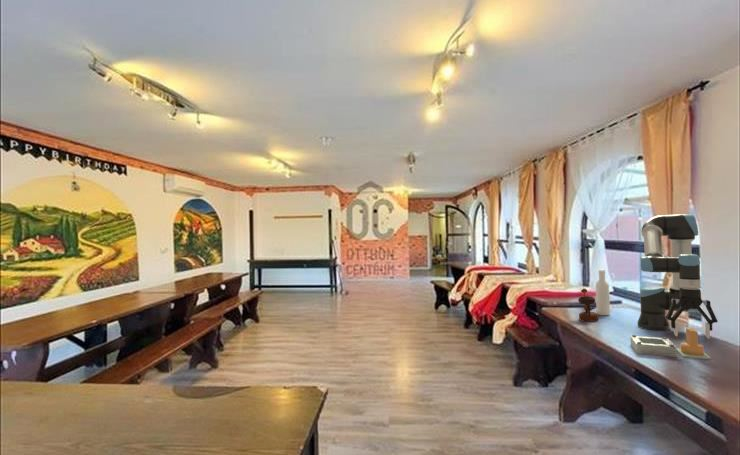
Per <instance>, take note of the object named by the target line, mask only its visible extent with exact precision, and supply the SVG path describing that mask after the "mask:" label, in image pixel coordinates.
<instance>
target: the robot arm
mask: <svg viewBox="0 0 740 455" xmlns="http://www.w3.org/2000/svg"><path fill="white" fill-rule="evenodd" d="M640 232H641V237H643V241H644V242H643V244H644V245H643V246H644V248H643V249H644V256H641V257H640V271H642V272H644V273H645V272H647V273H672V284H671V285H669V289H666V287H664V286H647V287H642V288H641V289H640V290H639V291H640V292H639V297H640V300H639V301H640V314H639V317H638V320H637V327H638V328H640V329H646V330H648V331H649V330H650V331H670V329H671V328H672V329H673V335H674V336H675V337H678V336H679V335H678V334H679V332H678V331H679V329H678V321H677V319H678V318H679V317H680V316H681V314H682V313H684V312H685V313H696V312H697V311H698V312H699V313H700V315H701V316H702V317H703V319H704V320H705V323H704V325H705V326H704V327H705V338H707V339H711V332H712V331H713V324H715V323H718V322H719V321H718V319H717V316H716V314H715V313H714V311H713V309H712V308H713V307H712V306H711V301H710V300H709V299H706V300H705V299H704V300H703V299H702V290H701V285H702V284H701V260H700V259H701V258H700V256H699V255H698V254H693V253H692V252H693V251H692V250H693V249H692V248H693V246H692V242H693V241H694V240H695V239H696V237H697V236H699V228H698V223H697V219H696V217H695V215H693V214H687V213H685V214H684V213H681V214H665V215H664V214H660V215H656V216H653V217H651V218H649V219H648V220H646V222H644V224H643V225H642V227H641V231H640ZM662 237H667V239H668V241H670V242H671V256H664V255H663V254H664V252H663V245H662ZM702 304H703V305H704V306H705V307H706V310H707V313H708V314H709V316H710V317H709V316H708V315H707V314H706V312H705V311H704V310H703V309H702V307H701V305H702ZM666 311H667V312H666ZM674 311H675V313H674ZM669 321H670V322H669Z"/></svg>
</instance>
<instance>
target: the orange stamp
mask: <svg viewBox="0 0 740 455" xmlns="http://www.w3.org/2000/svg"><path fill="white" fill-rule="evenodd" d="M685 333H686V334H685V337H686V342H681V343H680V348H681V352H682V353H685V354H689V355H697V356H700V355H704V353H705V351H704V350H705V348H704V347H705V346H704V345H702V344H700V343H698V339H699V338H698V331H697V330H695V329H694V328H692V327H685Z"/></svg>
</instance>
